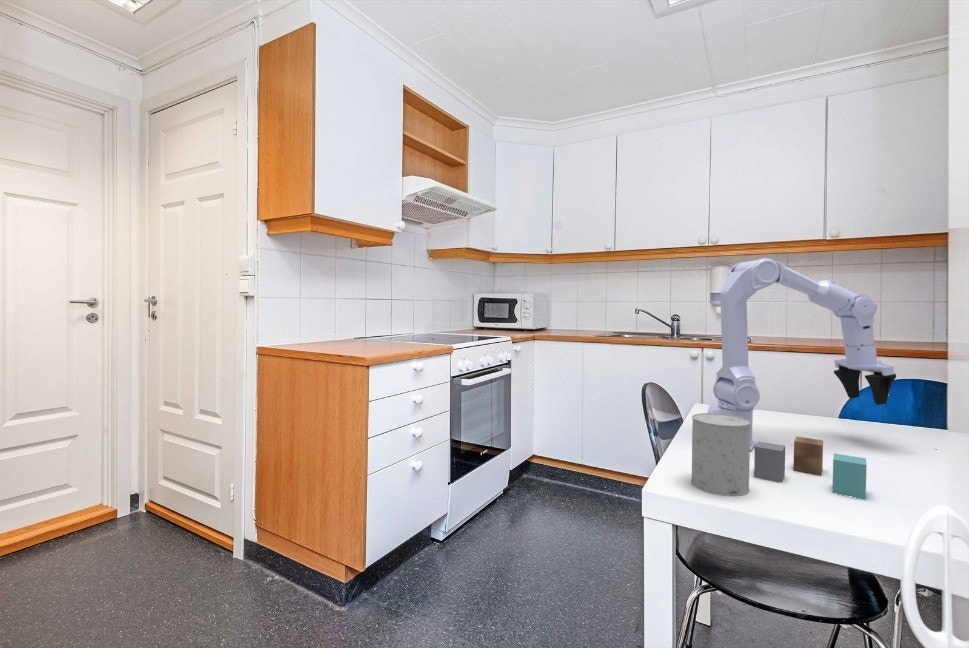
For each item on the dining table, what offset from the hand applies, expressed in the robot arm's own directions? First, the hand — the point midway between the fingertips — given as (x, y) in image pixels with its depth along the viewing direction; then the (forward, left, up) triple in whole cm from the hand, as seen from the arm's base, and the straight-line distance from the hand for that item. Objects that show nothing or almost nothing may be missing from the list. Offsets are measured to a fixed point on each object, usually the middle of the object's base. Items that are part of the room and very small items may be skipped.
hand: (867, 400), depth 109 cm
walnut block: (-9, -30, -11) cm, 33 cm away
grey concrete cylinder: (-21, -50, -11) cm, 56 cm away
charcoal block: (-15, -39, -11) cm, 43 cm away
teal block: (-3, -39, -11) cm, 41 cm away
